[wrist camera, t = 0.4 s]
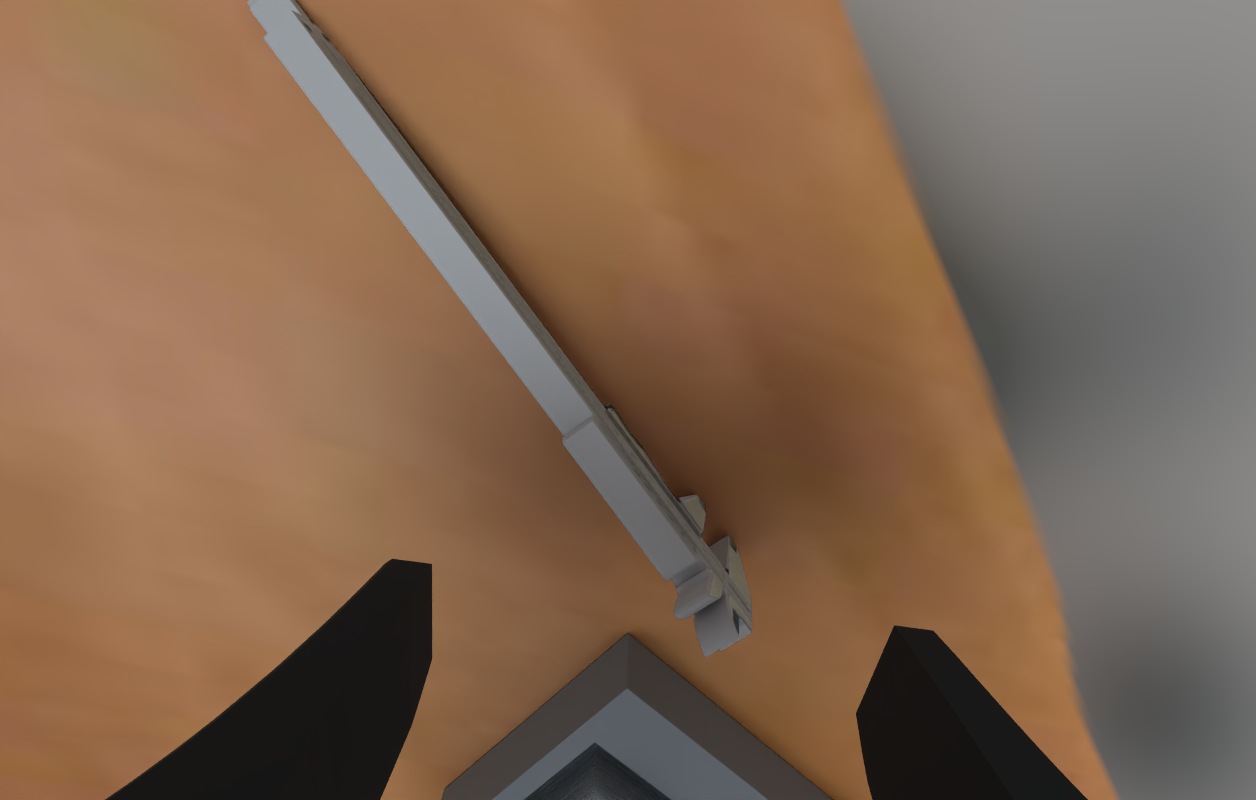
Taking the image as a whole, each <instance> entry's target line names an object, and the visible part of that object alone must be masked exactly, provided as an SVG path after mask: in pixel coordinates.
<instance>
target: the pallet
mask: <svg viewBox="0 0 1256 800" xmlns="http://www.w3.org/2000/svg"><path fill="white" fill-rule="evenodd" d="M594 742H595V743H597V744H598V745H599V746H601V747H602V748H603V749H604V750H606V751H607V752H608V753H610V754H611V755H612V756H614V757H615V758H616V759H618V760H619V761H620V762H622V763H623V764H624V765H626V766H627V767H628V768H630V769H631V770H632V771H634V772H635V773H636V774H638V775H639V776H640V777H642V778H643V779H644V780H646V781H647V782H648V783H650V784H651V785H652V786H654V787H655V788H656V789H658V790H659V791H660V792H662V793H663V794H664V795H666V796H667V797H668V798H670V799H671V800H832V799H831V798H830V797H828V796H827V795H826V794H825V793H823V792H822V791H821V790H820V789H819V788H817V787H816V786H815V785H814V784H812V783H811V782H810V781H809V780H807V779H806V778H805V777H804V776H803V775H801V774H800V773H799V772H798V771H796V770H795V769H794V768H793V767H791V766H790V765H789V764H788V763H787V762H785V761H784V760H783V759H782V758H780V757H779V756H778V755H777V754H776V753H774V752H773V751H772V750H771V749H769V748H768V747H767V746H766V745H764V744H763V743H762V742H761V741H760V740H758V739H757V738H756V737H755V736H753V735H752V734H751V733H750V732H749V731H747V730H746V729H745V728H744V727H742V726H741V725H740V724H739V723H737V722H736V721H735V720H734V719H733V718H731V717H730V716H729V715H728V714H726V713H725V712H724V711H723V710H722V709H720V708H719V707H718V706H717V705H715V704H714V703H713V702H712V701H710V700H709V699H708V698H707V697H706V696H704V695H703V694H702V693H701V692H699V691H698V690H697V689H696V688H695V687H693V686H692V685H691V684H690V683H688V682H687V681H686V680H685V679H683V678H682V677H681V676H680V675H679V674H677V673H676V672H675V671H674V670H672V669H671V668H670V667H669V666H668V665H666V664H665V663H664V662H663V661H661V660H660V659H659V658H658V657H656V656H655V655H654V654H653V653H652V652H650V651H649V650H648V649H647V648H645V647H644V646H643V645H642V644H641V643H639V642H638V641H637V640H636V639H634V638H633V637H632V636H631V635H629V634H628V633H627V634H626V635H625V636H624V637H623V638H622V639H620V640H619V641H618V642H617V643H616V644H615V645H613V646H612V647H611V648H610V649H609V650H607V651H606V652H605V653H604V654H603V655H602V656H600V657H599V658H598V659H597V660H596V661H595V662H593V663H592V664H591V665H590V666H589V667H587V668H586V669H585V670H584V671H583V672H582V673H580V674H579V675H578V676H577V677H576V678H575V679H573V680H572V681H571V682H570V683H569V684H568V685H566V686H565V687H564V688H563V689H562V690H560V691H559V692H558V693H557V694H556V695H555V696H553V697H552V698H551V699H550V700H549V701H548V702H546V703H545V704H544V705H543V706H542V707H540V708H539V709H538V710H537V711H536V712H535V713H533V714H532V715H531V716H530V717H529V718H528V719H526V720H525V721H524V722H523V723H522V724H521V725H519V726H518V727H517V728H516V729H515V730H513V731H512V732H511V733H510V734H509V735H508V736H506V737H505V738H504V739H503V740H502V741H501V742H499V743H498V744H497V745H496V746H495V747H493V748H492V749H491V750H490V751H489V752H488V753H486V754H485V755H484V756H483V757H482V758H481V759H479V760H478V761H477V762H476V763H475V764H474V765H472V766H471V767H470V768H469V769H468V770H466V771H465V772H464V773H463V774H462V775H461V776H459V777H458V778H457V779H456V780H455V781H454V782H452V783H451V784H450V785H449V786H448V787H446V788H445V789H444V793H443V796H442V799H441V800H524V799H525V798H526V797H528V796H529V795H530V794H531V793H533V792H534V791H535V790H536V789H538V788H539V787H540V786H541V785H543V784H544V783H545V782H546V781H547V780H549V779H550V778H551V777H552V776H554V775H555V774H556V773H557V772H559V771H560V770H561V769H562V768H564V767H565V766H566V765H567V764H568V763H570V762H571V761H572V760H573V759H575V758H576V757H577V756H578V755H580V754H581V753H582V752H583V751H585V750H586V749H587V748H588V747H589V746H591V745H592V744H593V743H594Z"/></svg>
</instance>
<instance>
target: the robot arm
mask: <svg viewBox="0 0 1256 800" xmlns="http://www.w3.org/2000/svg"><path fill="white" fill-rule="evenodd" d="M431 660H432V564H428V563H420V562H413V561H405V560H398V559H391V560H390V561H388V562H387V563H385V564H384V565H383V566H382V567H381V568H380V569H379V570H378V571H377V572H376V573H375V574H374V575H373V576H372V577H371V578H370V579H369V580H368V581H367V582H366V583H365V584H364V585H363V586H362V587H361V588H360V589H359V590H358V591H357V592H356V593H355V594H354V595H353V596H352V597H351V598H350V599H349V600H348V601H347V602H346V603H345V604H344V605H343V606H342V607H341V608H340V609H339V610H338V611H337V612H336V613H335V614H334V615H333V616H332V617H331V618H330V619H329V620H328V621H327V622H326V623H324V624H323V625H322V626H321V627H320V628H319V629H318V630H317V631H316V632H315V633H314V634H313V635H311V636H310V637H309V638H308V639H307V640H306V641H305V642H304V643H303V644H302V645H300V646H299V647H298V648H297V649H296V650H295V651H294V652H293V653H292V654H291V655H290V656H288V657H287V658H286V659H285V660H284V661H283V662H282V663H281V664H280V665H278V666H277V667H276V668H275V669H274V670H273V671H272V672H270V673H269V674H268V675H267V676H266V677H264V678H263V679H262V680H261V681H260V682H258V683H257V684H256V685H255V686H254V687H252V688H251V689H250V690H249V691H248V692H247V693H245V694H244V695H243V696H242V697H241V698H239V699H238V700H237V701H236V702H235V703H233V704H232V705H231V706H230V707H229V708H227V709H226V710H225V711H224V712H223V713H221V714H220V715H219V716H218V717H216V718H215V719H214V720H213V721H211V722H210V723H209V724H208V725H206V726H205V727H204V728H202V729H201V730H200V731H199V732H197V733H196V734H195V735H194V736H192V737H191V738H190V739H188V740H187V741H186V742H184V743H183V744H182V745H180V746H179V747H178V748H177V749H175V750H174V751H173V752H171V753H170V754H169V755H167V756H166V757H164V758H163V759H162V760H160V761H159V762H158V763H156V764H155V765H154V766H152V767H151V768H149V769H148V770H147V771H145V772H144V773H143V774H141V775H140V776H139V777H137V778H136V779H134V780H133V781H132V782H130V783H129V784H127V785H126V786H124V787H123V788H121V789H120V790H119V791H117V792H116V793H114V794H113V795H111V796H110V797H108V798H107V799H105V800H380V799H381V796H382V794H383V792H384V789H385V787H386V785H387V782H388V780H389V778H390V775H391V773H392V771H393V768H394V766H395V763H396V761H397V759H398V756H399V754H400V752H401V749H402V747H403V745H404V742H405V740H406V737H407V735H408V733H409V730H410V728H411V725H412V723H413V719H414V716H415V713H416V710H417V707H418V704H419V700H420V697H421V694H422V691H423V687H424V684H425V681H426V677H427V674H428V671H429V667H430V664H431ZM856 717H857V723H858V729H859V736H860V742H861V748H862V754H863V759H864V765H865V770H866V775H867V781H868V785H869V789H870V792H871V796H872V799H873V800H1088V799H1087V798H1086V797H1085V796H1084V795H1083V794H1082V793H1081V792H1080V791H1079V790H1078V789H1077V788H1076V787H1075V786H1074V785H1073V784H1072V783H1071V782H1070V781H1069V780H1068V779H1067V778H1066V777H1065V776H1064V774H1063V773H1062V772H1061V771H1060V770H1059V769H1058V768H1057V767H1056V766H1055V765H1054V764H1053V763H1052V762H1051V761H1050V760H1049V759H1048V757H1047V756H1046V755H1045V754H1044V753H1043V752H1042V751H1041V750H1040V749H1039V748H1038V747H1037V746H1036V744H1035V743H1034V742H1033V741H1032V740H1031V739H1030V738H1029V737H1028V736H1027V735H1026V734H1025V732H1024V731H1023V730H1022V729H1021V728H1020V727H1019V726H1018V725H1017V724H1016V722H1015V721H1014V720H1013V719H1012V718H1011V717H1010V716H1009V715H1008V714H1007V712H1006V711H1005V710H1004V709H1003V708H1002V707H1001V706H1000V705H999V703H998V702H997V701H996V700H995V699H994V698H993V697H992V696H991V694H990V693H989V692H988V691H987V690H986V689H985V688H984V687H983V685H982V684H981V683H980V682H979V681H978V680H977V679H976V678H975V676H974V675H973V674H972V673H971V672H970V671H969V670H968V668H967V667H966V666H965V665H964V664H963V663H962V662H961V661H960V659H959V658H958V657H957V656H956V655H955V654H954V653H953V652H952V651H951V649H950V648H949V647H948V646H947V645H946V644H945V643H944V642H943V641H942V640H941V639H940V638H939V637H938V635H937V634H936V633H935V632H934V631H932V630H924V629H917V628H909V627H902V626H894V627H893V630H892V632H891V634H890V636H889V639H888V641H887V643H886V646H885V648H884V650H883V653H882V655H881V657H880V659H879V662H878V664H877V666H876V669H875V671H874V673H873V676H872V678H871V680H870V683H869V685H868V687H867V689H866V692H865V694H864V696H863V699H862V701H861V703H860V706H859V708H858V710H857V712H856Z"/></svg>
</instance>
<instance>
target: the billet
mask: <svg viewBox="0 0 1256 800" xmlns="http://www.w3.org/2000/svg"><path fill="white" fill-rule="evenodd" d="M524 800H671V799H670V798H668V797H667V796H666V795H664V794H663V793H662V792H660V791H659V790H658V789H656V788H655V787H654V786H652V785H651V784H650V783H648V782H647V781H646V780H644V779H643V778H642V777H640V776H639V775H638V774H636V773H635V772H634V771H632V770H631V769H630V768H628V767H627V766H626V765H624V764H623V763H622V762H620V761H619V760H618V759H616V758H615V757H614V756H612V755H611V754H610V753H608V752H607V751H606V750H604V749H603V748H602V747H601V746H599V745H598V744H597V743H595V742H594V743H593V744H592V745H591V746H589V747H588V748H587V749H586V750H585V751H583V752H582V753H581V754H580V755H578V756H577V757H576V758H575V759H573V760H572V761H571V762H570V763H568V764H567V765H566V766H565V767H564V768H562V769H561V770H560V771H559V772H557V773H556V774H555V775H554V776H552V777H551V778H550V779H549V780H547V781H546V782H545V783H544V784H543V785H541V786H540V787H539V788H538V789H536V790H535V791H534V792H533V793H531V794H530V795H529V796H528V797H526V798H525V799H524Z"/></svg>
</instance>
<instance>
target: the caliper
mask: <svg viewBox="0 0 1256 800" xmlns="http://www.w3.org/2000/svg"><path fill="white" fill-rule="evenodd" d="M247 3H248V4H249V6H250V7H251V8H250V10H251V12H252V13H253V14H254V16H255V17H256V18H257V20H258V21H259V22H260V24H261V25H262V26H263V28H264V29H265V30H266V32H267V34H266V35H265V36H264V37H263V38H264V39H265V41H266V42H267V43H268V45H269V46H270V47H271V49H272V50H273V51H274V53H275V54H276V55H277V57H278V58H279V59H280V61H281V62H282V63H283V65H284V66H285V67H286V69H287V70H288V71H289V73H290V74H291V75H292V77H293V78H294V79H295V81H296V82H297V83H298V85H299V86H300V87H301V89H302V90H303V91H304V93H305V94H306V95H307V97H308V98H309V99H310V100H311V102H312V103H313V104H314V106H315V107H316V108H317V110H318V111H319V112H320V114H321V115H322V116H323V118H324V119H325V120H326V122H327V123H328V124H329V126H330V127H331V128H332V130H333V131H334V132H335V134H336V135H337V136H338V138H339V139H340V140H341V142H342V143H343V144H344V146H345V147H346V148H347V150H348V151H349V152H350V154H351V155H352V156H353V158H354V159H355V160H356V162H357V163H358V164H359V166H360V167H361V168H362V170H363V171H364V172H365V174H366V175H367V176H368V178H369V179H370V180H371V182H372V183H373V184H374V186H375V187H376V188H377V190H378V191H379V192H380V194H381V195H382V196H383V197H384V199H385V200H386V201H387V203H388V204H389V205H390V207H391V208H392V209H393V211H394V212H395V213H396V215H397V216H398V217H399V219H400V220H401V221H402V223H403V224H404V225H405V227H406V228H407V229H408V231H409V232H410V233H411V235H412V236H413V237H414V239H415V240H416V241H417V243H418V244H419V245H420V247H421V248H422V249H423V250H424V252H425V253H426V254H427V256H428V257H429V258H430V260H431V261H432V262H433V264H434V265H435V266H436V268H437V269H438V270H439V272H440V273H441V274H442V276H443V277H444V278H445V280H446V281H447V282H448V284H449V285H450V286H451V288H452V289H453V290H454V292H455V293H456V294H457V296H458V297H459V298H460V299H461V301H462V302H463V303H464V305H465V306H466V307H467V309H468V310H469V311H470V313H471V314H472V315H473V317H474V318H475V319H476V321H477V322H478V323H479V325H480V326H481V327H482V329H483V330H484V331H485V333H486V334H487V335H488V337H489V338H490V339H491V341H492V342H493V343H494V345H495V346H496V347H497V349H498V350H499V351H500V352H501V354H502V355H503V356H504V358H505V359H506V360H507V362H508V363H509V364H510V366H511V367H512V368H513V370H514V371H515V372H516V374H517V375H518V376H519V378H520V379H521V380H522V382H523V383H524V384H525V386H526V387H527V388H528V390H529V391H530V392H531V394H532V395H533V396H534V398H535V399H536V400H537V401H538V403H539V404H540V405H541V407H542V408H543V409H544V411H545V412H546V413H547V415H548V416H549V417H550V419H551V420H552V421H553V423H554V424H555V425H556V427H557V428H558V429H559V431H560V432H561V433H562V435H563V436H564V437H563V438H562V443H563V445H564V446H565V447H566V449H567V450H568V451H569V453H570V454H571V455H572V457H573V458H574V459H575V461H576V462H577V463H578V465H579V466H580V467H581V469H582V470H583V471H584V473H585V474H586V475H587V477H588V478H589V479H590V481H591V482H592V483H593V485H594V486H595V488H596V489H597V490H598V492H599V493H600V494H601V496H602V497H603V498H604V500H605V501H606V502H607V504H608V505H609V506H610V508H611V509H612V510H613V512H614V513H615V514H616V516H617V517H618V518H619V520H620V521H621V522H622V524H623V525H624V526H625V528H626V529H627V530H628V532H629V533H630V534H631V536H632V537H633V538H634V540H635V541H636V542H637V544H638V545H639V546H640V548H641V549H642V550H643V552H644V553H645V554H646V556H647V557H648V558H649V560H650V561H651V562H652V564H653V565H654V566H655V568H656V569H657V570H658V572H659V573H660V574H661V576H662V577H663V578H664V579H665V580H666V581H668V580H670V579H671V580H672V581H673V582H674V583H675V585H676V590H677V592H678V598H677V600H676V603H675V608H674V615H675V617H676V618H678V619H684V618H688V617H690V616H692V615H693V614H695V617H694V623H695V628H696V633H697V637H698V640H699V644H700V647H701V650H702V652H703V654H704V655H705V657H707V656H709V655H710V654H712V653H714V652H716V651H717V650H720V651H722V650H724V649H725V648H727V647H729V646H730V645H732V644H734V643H735V642H737V641H739V640H740V639H742V638H744V637H745V636H747V635H749V634H750V633H752V601H751V597H750V593H749V589H748V585H747V581H746V577H745V574H744V570H743V566H742V562H741V559H740V555H739V552H738V549H737V547H736V546H735V544H734V542H733V541H732V539H731V538H730V536H729V535H727V536H725V537H724V538H722V539H721V540H719V541H718V542H716V543H714V544H713V545H711V546H710V547H708V546H707V544H706V543H705V542H704V540H703V539H702V534H701V533H702V532H703V530H704V524H705V518H706V513H705V511H704V510H705V507H706V506H705V505H704V503H703V502H702V501H701V500H700V498H699V497H698V496H697V495H696V494H695V495H690V496H685V497H680V498H676V497H675V496H674V495H673V493H672V492H671V491H670V489H669V488H668V487H667V485H666V484H665V483H664V481H663V480H662V478H661V475H660V474H659V472H658V470H657V469H656V467H655V466H654V464H653V463H652V461H651V459H650V458H649V456H648V455H647V453H646V452H645V450H644V448H643V447H642V446H641V444H640V443H639V442H638V441H637V440H636V438H635V437H634V436H633V435H632V434H631V433H630V431H629V430H628V428H627V427H626V425H625V424H624V422H623V421H622V419H621V418H620V416H619V415H618V413H617V412H616V410H615V409H614V408H613V407H612V405H611V404H607V405H605V406H603V404H602V403H601V402H600V400H599V399H598V398H597V396H596V395H595V394H594V392H593V391H592V389H591V388H590V387H589V385H588V384H587V383H586V381H585V380H584V379H583V377H582V376H581V375H580V373H579V372H578V371H577V369H576V368H575V367H574V365H573V364H572V363H571V361H570V360H569V359H568V357H567V356H566V355H565V353H564V352H563V351H562V349H561V348H560V347H559V345H558V344H557V343H556V341H555V340H554V339H553V337H552V336H551V335H550V333H549V332H548V331H547V329H546V328H545V327H544V325H543V324H542V323H541V321H540V320H539V318H538V317H537V316H536V314H535V313H534V312H533V310H532V309H531V308H530V306H529V305H528V304H527V302H526V301H525V300H524V298H523V297H522V296H521V294H520V293H519V292H518V290H517V289H516V288H515V286H514V285H513V284H512V282H511V281H510V280H509V278H508V277H507V276H506V274H505V273H504V272H503V270H502V269H501V268H500V266H499V265H498V264H497V262H496V261H495V260H494V258H493V257H492V256H491V254H490V253H489V252H488V250H487V249H486V247H485V246H484V245H483V243H482V242H481V241H480V239H479V238H478V237H477V235H476V234H475V233H474V231H473V230H472V229H471V227H470V226H469V225H468V223H467V222H466V221H465V219H464V218H463V217H462V215H461V214H460V213H459V211H458V210H457V208H456V207H455V206H454V204H453V203H452V202H451V200H450V199H449V198H448V196H447V195H446V194H445V192H444V191H443V190H442V188H441V187H440V186H439V184H438V183H437V182H436V180H435V179H434V178H433V176H432V175H431V173H430V172H429V171H428V169H427V168H426V167H425V165H424V164H423V163H422V161H421V160H420V159H419V157H418V156H417V155H416V153H415V152H414V151H413V149H412V148H411V147H410V145H409V144H408V143H407V141H406V140H405V138H404V137H403V136H402V134H401V133H400V132H399V130H398V129H397V128H396V126H395V125H394V124H393V122H392V121H391V120H390V118H389V117H388V116H387V114H386V113H385V112H384V110H383V109H382V108H381V106H380V105H379V103H378V102H377V101H376V99H375V98H374V97H373V95H372V94H371V93H370V91H369V90H368V89H367V87H366V86H365V85H364V83H363V82H362V81H361V79H360V78H359V77H358V75H357V74H356V73H355V72H354V70H353V69H352V68H351V67H350V66H349V64H348V63H347V62H346V61H345V59H344V58H343V57H342V56H341V54H340V53H339V52H338V51H337V49H336V48H335V47H334V46H333V45H332V43H331V42H330V41H329V40H328V38H327V37H326V36H325V35H324V33H323V32H322V31H321V30H320V28H319V27H318V26H317V25H315V24H314V23H312V22H311V20H310V19H309V18H308V16H307V15H306V14H305V12H304V11H303V9H302V8H301V7H300V5H299V4H298V3H297V1H296V0H249V1H248V2H247Z"/></svg>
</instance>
